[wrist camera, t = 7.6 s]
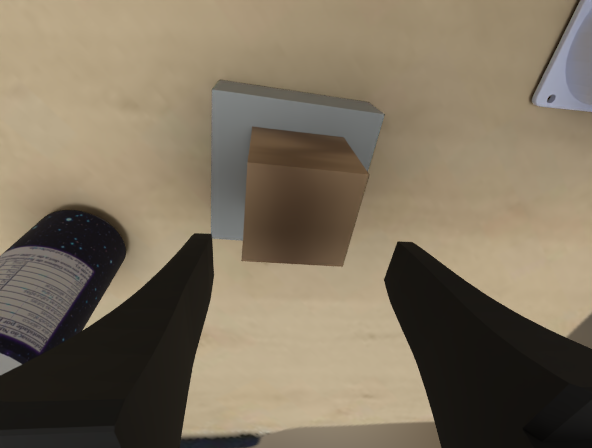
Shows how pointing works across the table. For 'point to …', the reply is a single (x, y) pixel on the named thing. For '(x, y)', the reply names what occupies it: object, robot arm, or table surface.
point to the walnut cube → (300, 198)
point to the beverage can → (54, 282)
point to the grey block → (274, 115)
